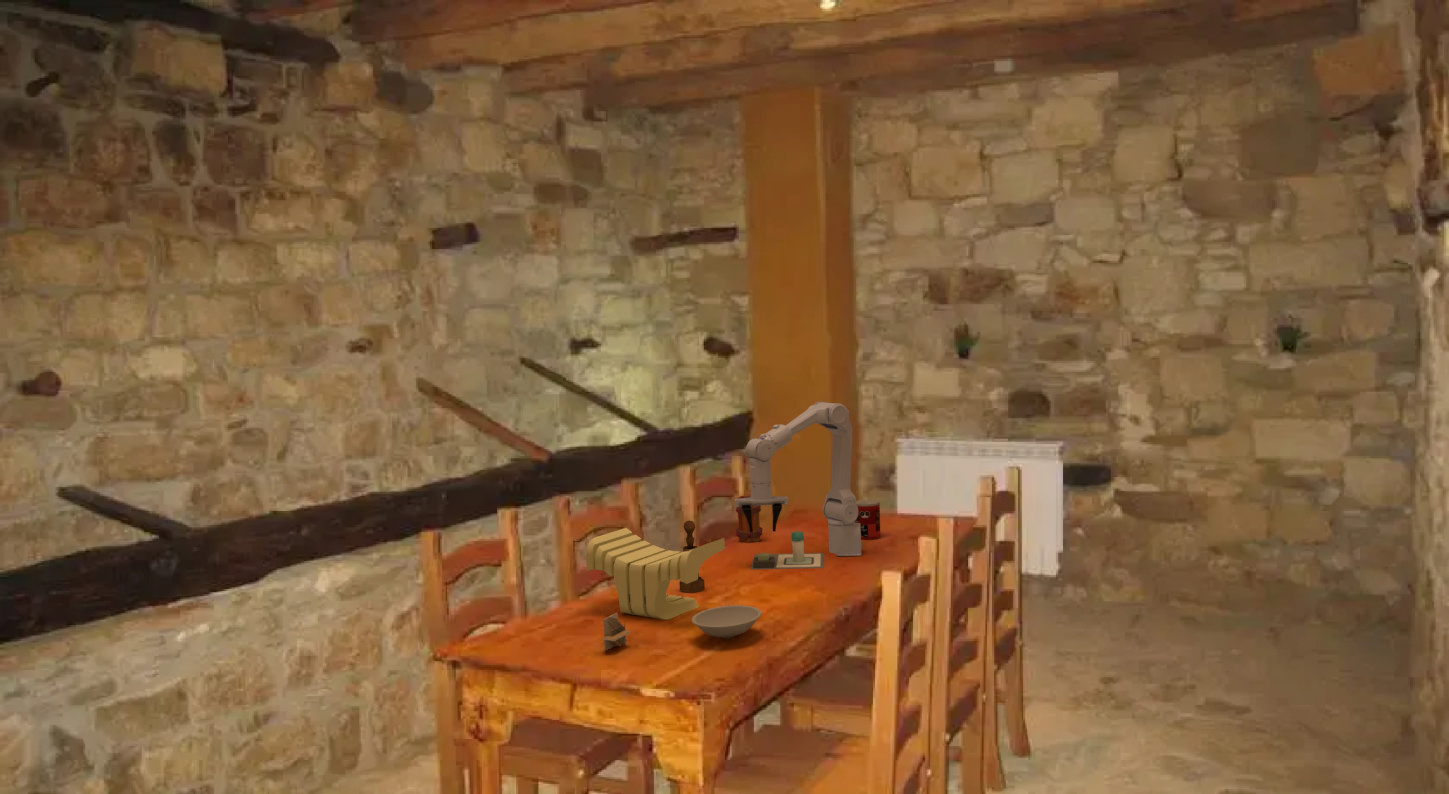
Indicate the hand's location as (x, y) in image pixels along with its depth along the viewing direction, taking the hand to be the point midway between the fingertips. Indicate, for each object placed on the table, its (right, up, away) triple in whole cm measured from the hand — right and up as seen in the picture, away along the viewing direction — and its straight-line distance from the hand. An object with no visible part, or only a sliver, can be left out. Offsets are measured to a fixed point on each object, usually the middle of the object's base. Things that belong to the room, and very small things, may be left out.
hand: (762, 531), depth 315 cm
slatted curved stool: (-27, -15, -37) cm, 48 cm away
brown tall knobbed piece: (-19, -13, -18) cm, 29 cm away
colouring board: (+7, -10, +5) cm, 13 cm away
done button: (0, -8, +1) cm, 8 cm away
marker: (+10, -9, +4) cm, 14 cm away
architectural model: (-34, -18, -65) cm, 76 cm away
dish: (-10, -17, -61) cm, 64 cm away
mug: (-3, -7, +37) cm, 38 cm away
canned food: (+33, -6, +35) cm, 48 cm away
